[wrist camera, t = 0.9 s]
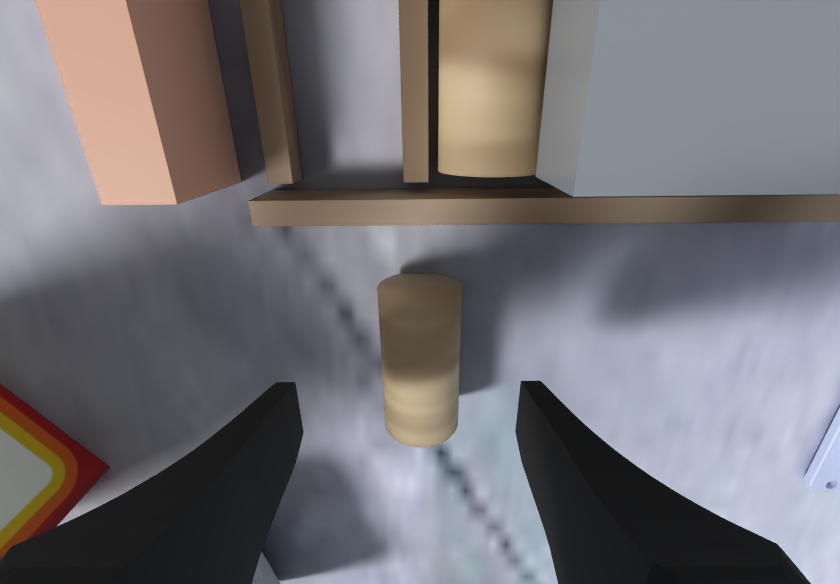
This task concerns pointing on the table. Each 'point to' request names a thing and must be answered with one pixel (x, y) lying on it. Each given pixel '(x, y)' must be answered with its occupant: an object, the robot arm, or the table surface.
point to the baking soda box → (38, 472)
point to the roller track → (465, 132)
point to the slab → (692, 98)
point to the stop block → (144, 96)
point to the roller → (420, 356)
